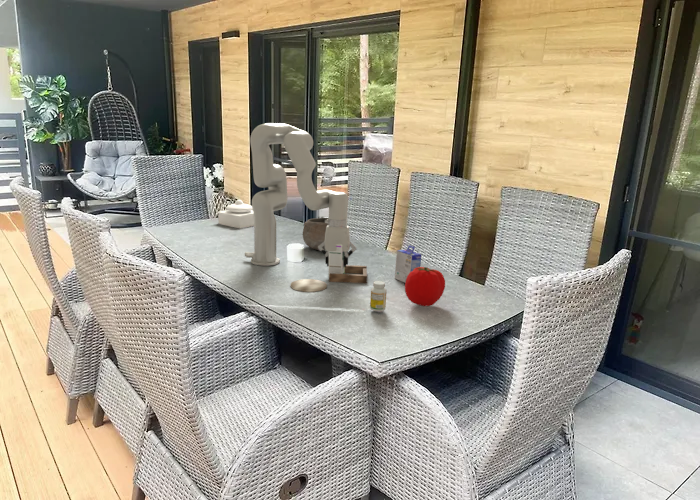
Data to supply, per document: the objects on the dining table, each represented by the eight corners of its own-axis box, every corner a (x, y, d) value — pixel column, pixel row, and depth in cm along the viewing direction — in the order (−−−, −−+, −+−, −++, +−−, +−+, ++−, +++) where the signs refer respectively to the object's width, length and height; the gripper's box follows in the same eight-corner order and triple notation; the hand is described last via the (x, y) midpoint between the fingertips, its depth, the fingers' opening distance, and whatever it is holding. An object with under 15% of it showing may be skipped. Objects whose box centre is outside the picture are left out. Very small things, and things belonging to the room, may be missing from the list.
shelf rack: (329, 281, 212) (329, 274, 211) (331, 271, 226) (331, 264, 225) (366, 283, 212) (367, 275, 211) (366, 272, 226) (366, 265, 225)
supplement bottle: (379, 313, 180) (380, 286, 178) (366, 309, 184) (368, 282, 181) (388, 309, 184) (390, 282, 182) (376, 305, 188) (377, 279, 185)
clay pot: (295, 251, 256) (295, 220, 252) (313, 242, 275) (314, 214, 271) (335, 257, 249) (336, 225, 245) (351, 247, 267) (352, 218, 264)
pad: (288, 291, 199) (288, 289, 199) (292, 279, 212) (292, 278, 212) (325, 292, 199) (325, 291, 199) (327, 281, 212) (327, 279, 212)
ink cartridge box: (420, 283, 214) (422, 248, 211) (409, 285, 211) (412, 250, 208) (404, 276, 222) (406, 243, 219) (394, 278, 219) (396, 244, 216)
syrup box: (341, 279, 216) (343, 244, 212) (327, 277, 217) (328, 243, 213) (344, 275, 221) (345, 241, 218) (330, 274, 222) (331, 240, 219)
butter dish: (262, 226, 309) (262, 199, 305) (239, 231, 295) (239, 203, 291) (240, 222, 319) (240, 196, 315) (217, 227, 304) (217, 199, 300)
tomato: (415, 312, 182) (417, 273, 179) (395, 299, 195) (398, 263, 191) (453, 307, 189) (456, 270, 185) (432, 295, 201) (435, 260, 197)
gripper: (315, 224, 210) (314, 267, 214) (359, 225, 210) (357, 269, 214) (316, 220, 217) (316, 262, 222) (359, 221, 217) (357, 264, 221)
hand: (336, 265), depth 218 cm, fingers closed on syrup box, 6 cm apart
